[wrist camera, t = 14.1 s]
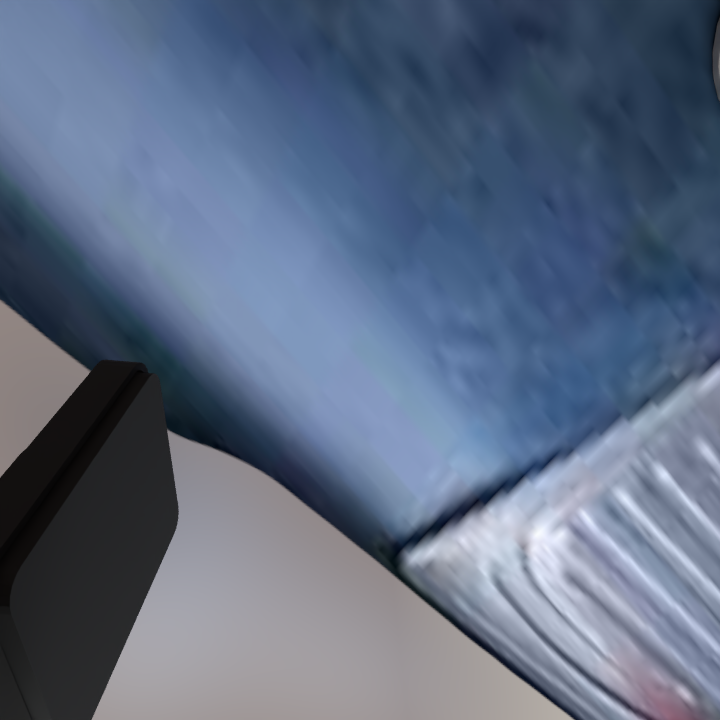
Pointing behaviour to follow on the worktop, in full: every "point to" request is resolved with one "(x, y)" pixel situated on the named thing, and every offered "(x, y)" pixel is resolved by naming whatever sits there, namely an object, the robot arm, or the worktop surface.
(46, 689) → the robot arm
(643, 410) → the worktop surface
